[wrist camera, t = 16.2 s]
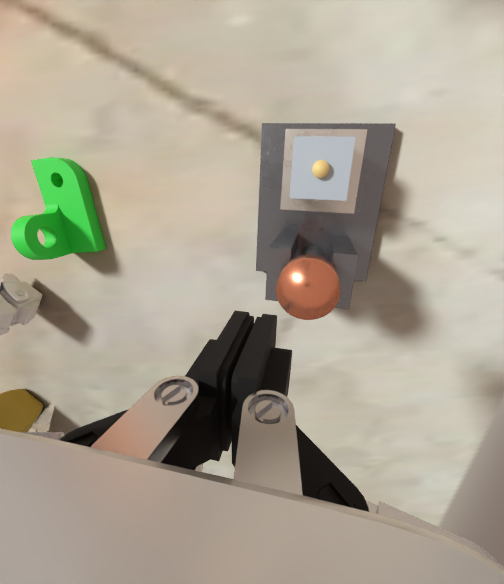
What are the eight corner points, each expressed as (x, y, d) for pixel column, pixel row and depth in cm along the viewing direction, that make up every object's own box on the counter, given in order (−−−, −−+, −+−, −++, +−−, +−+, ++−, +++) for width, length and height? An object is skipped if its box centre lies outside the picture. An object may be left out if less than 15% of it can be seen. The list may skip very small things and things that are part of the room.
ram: (291, 232, 33) (278, 257, 22) (336, 235, 32) (345, 263, 22) (288, 273, 35) (274, 315, 24) (330, 277, 34) (335, 323, 23)
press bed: (264, 125, 31) (241, 102, 22) (392, 125, 29) (426, 100, 20) (257, 267, 37) (237, 296, 28) (364, 278, 35) (380, 312, 26)
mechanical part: (107, 248, 41) (61, 263, 34) (72, 250, 42) (20, 264, 35) (82, 156, 37) (24, 149, 30) (44, 161, 38) (-20, 156, 31)
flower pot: (5, 399, 58) (-46, 435, 50) (18, 376, 55) (-35, 410, 47) (40, 426, 59) (-5, 466, 51) (55, 405, 56) (10, 443, 47)
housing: (298, 144, 30) (293, 135, 24) (348, 144, 29) (356, 135, 23) (294, 195, 32) (288, 198, 26) (341, 197, 31) (346, 201, 25)
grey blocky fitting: (22, 267, 45) (-52, 289, 36) (57, 294, 46) (-8, 322, 37) (13, 294, 48) (-60, 320, 39) (46, 318, 48) (-18, 351, 39)
